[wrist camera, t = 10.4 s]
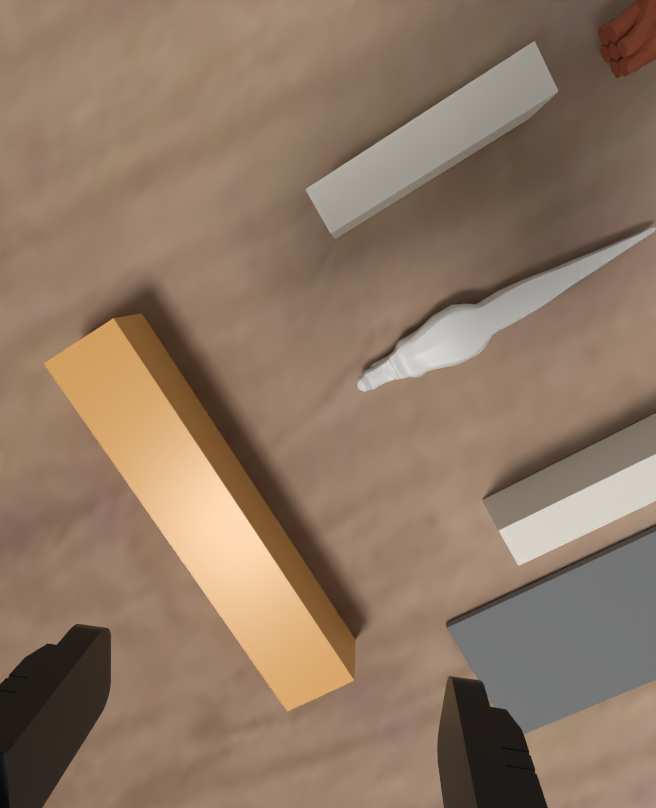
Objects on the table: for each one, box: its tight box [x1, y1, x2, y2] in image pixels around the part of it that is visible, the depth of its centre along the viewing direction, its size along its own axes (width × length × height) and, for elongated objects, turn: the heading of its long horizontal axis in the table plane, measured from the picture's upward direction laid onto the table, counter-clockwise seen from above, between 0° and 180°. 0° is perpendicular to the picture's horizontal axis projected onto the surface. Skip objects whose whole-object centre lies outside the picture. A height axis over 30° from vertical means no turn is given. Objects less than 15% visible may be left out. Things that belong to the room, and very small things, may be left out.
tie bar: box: [44, 314, 355, 711], centre depth 28 cm, size 21×4×4 cm, turn 31°
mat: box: [446, 526, 656, 734], centre depth 29 cm, size 8×17×1 cm, turn 121°
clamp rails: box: [305, 41, 656, 566], centre depth 24 cm, size 19×10×4 cm, turn 31°
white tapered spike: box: [357, 227, 656, 392], centre depth 25 cm, size 15×3×2 cm, turn 119°
